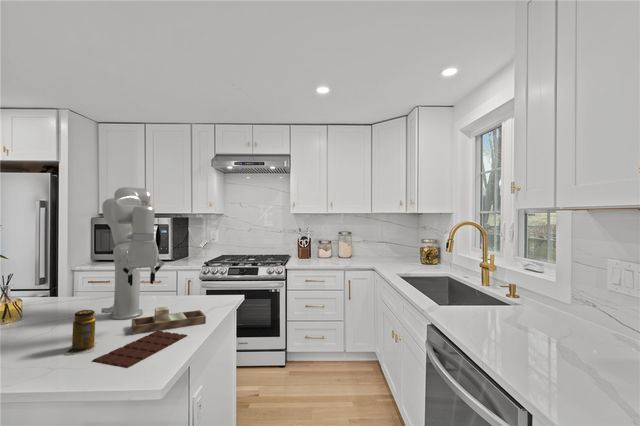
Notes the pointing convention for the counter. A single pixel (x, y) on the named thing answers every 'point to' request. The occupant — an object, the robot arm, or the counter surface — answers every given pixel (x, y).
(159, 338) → the chocolate bar
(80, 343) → the condiment
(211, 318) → the counter surface
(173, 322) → the box
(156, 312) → the block
